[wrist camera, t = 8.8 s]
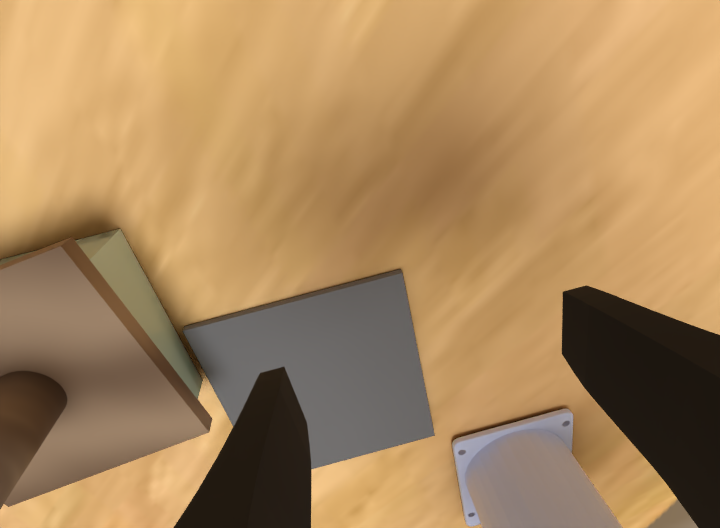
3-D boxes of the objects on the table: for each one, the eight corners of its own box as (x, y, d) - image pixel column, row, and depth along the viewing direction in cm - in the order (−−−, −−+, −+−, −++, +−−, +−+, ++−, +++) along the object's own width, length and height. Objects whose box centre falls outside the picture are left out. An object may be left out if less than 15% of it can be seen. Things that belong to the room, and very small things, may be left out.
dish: (202, 380, 22) (190, 425, 20) (35, 425, 22) (0, 476, 19) (120, 228, 18) (90, 259, 15) (-88, 282, 18) (-155, 323, 15)
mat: (432, 430, 26) (434, 435, 26) (263, 476, 26) (263, 482, 26) (400, 269, 21) (402, 273, 20) (184, 326, 21) (182, 331, 20)
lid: (212, 418, 20) (186, 531, 15) (18, 490, 20) (-65, 622, 15) (71, 236, 15) (-28, 320, 10) (-179, 335, 15) (-384, 459, 11)
